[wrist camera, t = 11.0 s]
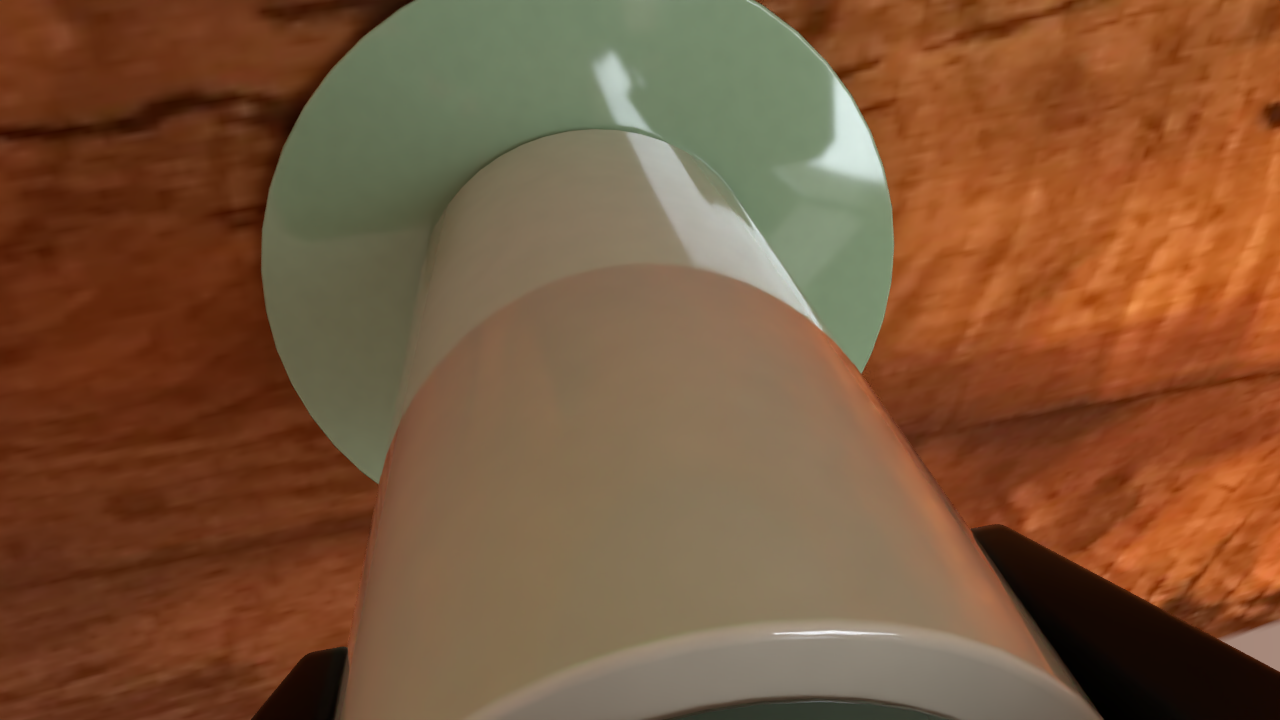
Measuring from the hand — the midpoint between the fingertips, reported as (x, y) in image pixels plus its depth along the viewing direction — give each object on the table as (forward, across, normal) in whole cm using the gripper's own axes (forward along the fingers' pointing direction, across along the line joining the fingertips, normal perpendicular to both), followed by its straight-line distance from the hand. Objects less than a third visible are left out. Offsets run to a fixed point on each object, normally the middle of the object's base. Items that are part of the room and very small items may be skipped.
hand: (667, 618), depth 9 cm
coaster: (+8, 0, 0) cm, 9 cm away
